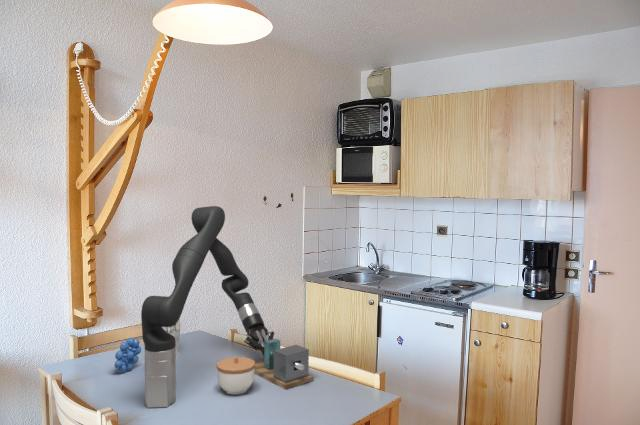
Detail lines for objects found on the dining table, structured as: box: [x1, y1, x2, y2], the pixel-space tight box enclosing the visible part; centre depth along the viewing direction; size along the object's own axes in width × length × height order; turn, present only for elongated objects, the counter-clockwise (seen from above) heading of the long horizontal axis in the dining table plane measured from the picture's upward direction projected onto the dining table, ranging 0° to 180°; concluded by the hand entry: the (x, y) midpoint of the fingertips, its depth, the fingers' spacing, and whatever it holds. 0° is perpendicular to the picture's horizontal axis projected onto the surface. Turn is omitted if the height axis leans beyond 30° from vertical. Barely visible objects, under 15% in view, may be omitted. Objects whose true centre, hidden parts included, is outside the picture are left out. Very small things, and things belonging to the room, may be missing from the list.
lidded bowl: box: [216, 356, 256, 396], centre depth 164 cm, size 13×13×11 cm
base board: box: [254, 358, 314, 390], centre depth 179 cm, size 26×12×2 cm, turn 41°
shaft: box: [263, 338, 305, 371], centre depth 175 cm, size 19×5×10 cm, turn 41°
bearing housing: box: [274, 344, 310, 383], centre depth 173 cm, size 7×10×10 cm
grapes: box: [114, 337, 142, 374], centre depth 181 cm, size 12×7×12 cm, turn 154°
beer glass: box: [162, 317, 181, 357], centre depth 198 cm, size 7×7×15 cm
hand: (268, 357), depth 183 cm, fingers closed
